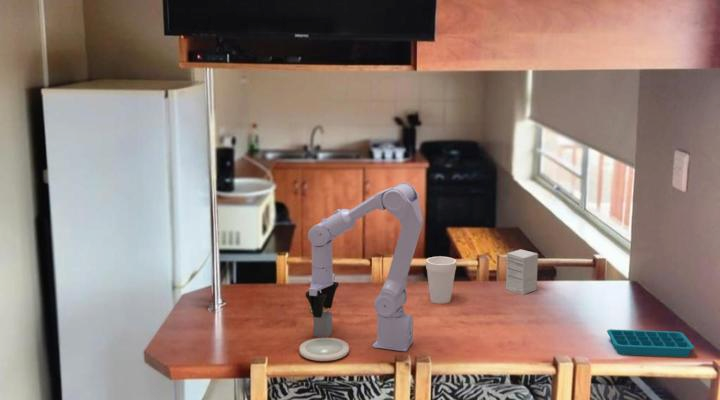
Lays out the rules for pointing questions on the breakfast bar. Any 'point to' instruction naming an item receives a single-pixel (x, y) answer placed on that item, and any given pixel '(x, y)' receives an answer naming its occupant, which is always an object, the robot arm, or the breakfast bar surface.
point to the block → (323, 325)
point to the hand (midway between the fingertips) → (322, 312)
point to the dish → (324, 349)
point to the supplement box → (521, 271)
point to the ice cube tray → (650, 343)
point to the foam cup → (440, 278)
